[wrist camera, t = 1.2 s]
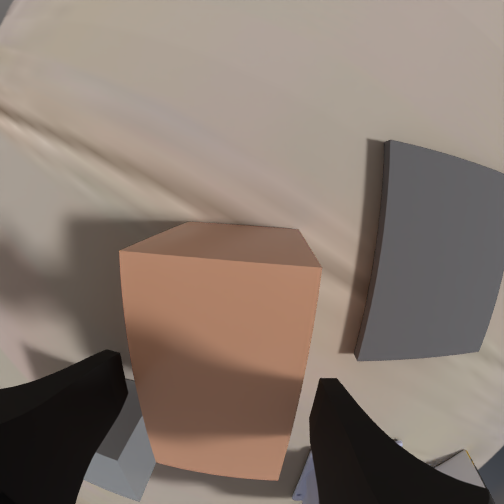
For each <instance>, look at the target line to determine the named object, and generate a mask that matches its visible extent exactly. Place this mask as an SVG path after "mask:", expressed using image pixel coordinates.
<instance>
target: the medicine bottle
mask: <svg viewBox="0 0 504 504" xmlns="http://www.w3.org/2000/svg"><path fill="white" fill-rule="evenodd" d="M435 469H436V470H438V471H440V472H442V473H444V474H447V475H449V476H451V477H453V478H456V479H458V480H461V481H464V482H467V483H470V484H473V485H477V486H480V487H484V488H487V487H486V485H485V483H484V482H483V480H482V478H481V476H480V474H479V472H478V470H477V468H476V466H475V465H474V463H473V461H472V459H471V457H470V456H469V454H468V452H467V451H466V450H463V451H461V452H460V453H458V454H457V455H455V456H453V457H452V458H450V459H449V460H447V461H445V462H444V463H442V464H440V465H438V466H437V467H435Z"/></svg>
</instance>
